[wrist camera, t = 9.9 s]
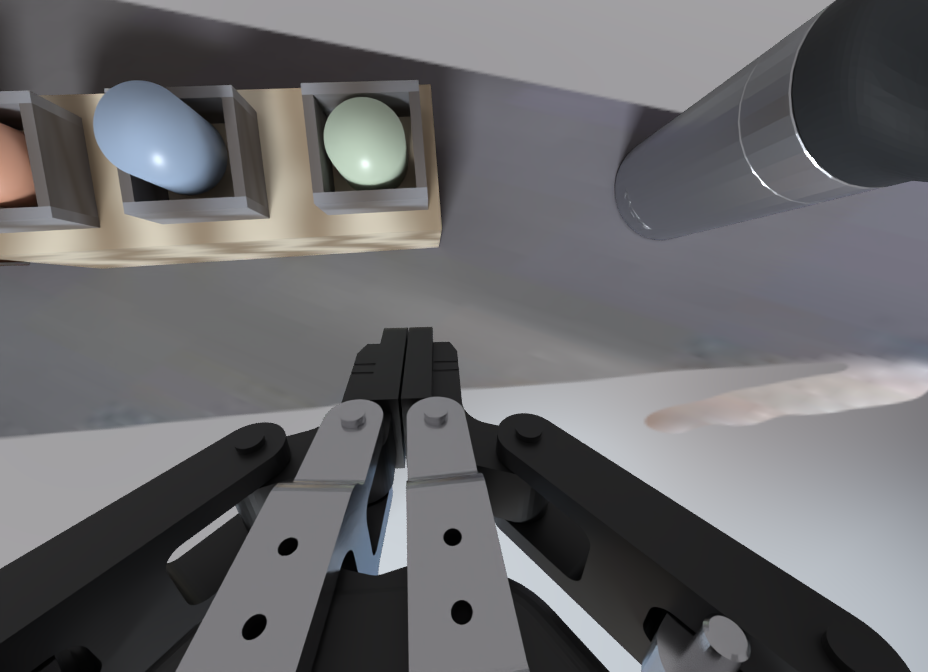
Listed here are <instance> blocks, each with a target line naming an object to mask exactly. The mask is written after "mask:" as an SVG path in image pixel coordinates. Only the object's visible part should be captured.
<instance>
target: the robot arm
mask: <svg viewBox="0 0 928 672" xmlns="http://www.w3.org/2000/svg"><path fill="white" fill-rule="evenodd" d="M909 181H922V182H928V0H836V1H834V2H833V3H832V4H830V5H829V6H827V7H826V8H825V9H823V10H822V11H821V12H819V13H818V14H816V15H815V16H814V17H812V18H811V19H810V20H808V21H807V22H806V23H804V24H803V25H801V26H800V27H799V28H797V29H796V30H795V31H793V32H792V33H791V34H789V35H788V36H786V37H785V38H784V39H782V40H781V41H780V42H779V43H777V44H776V45H775V46H773V47H772V48H770V49H769V50H768V51H766V52H765V53H764V54H762V55H761V56H760V57H758V58H757V59H756V60H754V61H753V62H751V63H750V64H749V65H747V66H746V67H744V68H743V69H742V70H740V71H739V72H738V73H736V74H735V75H733V76H732V77H731V78H730V79H728V80H727V81H725V82H724V83H723V84H721V85H720V86H719V87H717V88H716V89H714V90H713V91H712V92H710V93H709V94H708V95H706V96H705V97H703V98H702V99H701V100H699V101H698V102H697V103H695V104H694V105H692V106H691V107H690V108H688V109H687V110H686V111H684V112H683V113H681V114H680V115H679V116H677V117H676V118H675V119H673V120H672V121H670V122H669V123H668V124H666V125H665V126H663V127H662V128H661V129H659V130H658V131H656V132H655V133H654V134H652V135H651V136H650V137H648V138H647V139H646V140H644V141H643V142H642V143H640V144H639V145H637V146H636V147H635V148H634V149H633V150H632V151H631V152H630V153H629V154H628V155H627V156H626V157H625V159H624V161H623V162H622V164H621V166H620V168H619V171H618V173H617V177H616V183H615V198H616V203H617V207H618V209H619V212H620V214H621V216H622V218H623V219H624V221H625V222H626V223H627V225H628V226H629V227H630V228H632V229H633V230H634V231H635V232H636V233H638V234H640V235H642V236H644V237H646V238H650V239H654V240H667V239H673V238H677V237H681V236H685V235H689V234H694V233H699V232H703V231H707V230H711V229H715V228H719V227H723V226H728V225H732V224H736V223H740V222H744V221H748V220H752V219H757V218H761V217H765V216H769V215H773V214H777V213H781V212H785V211H790V210H794V209H798V208H802V207H806V206H810V205H814V204H819V203H822V202H826V201H830V200H834V199H838V198H842V197H846V196H850V195H855V194H859V193H863V192H867V191H871V190H875V189H879V188H883V187H887V186H892V185H896V184H900V183H904V182H909ZM405 459H407V468H408V481H407V484H406V499H407V500H406V501H407V566H406V567H403V568H400V569H397V570H394V571H391V572H388V573H385V574H382V575H378V570H379V562H380V557H381V552H382V547H383V542H384V537H385V532H386V526H387V522H388V516H389V512H390V507H391V502H392V496H393V490H392V485H393V480H394V472H395V468H405ZM234 506H236V508H237V510H238V512H239V513H238V514H237V515H236V516H235V517H233V518H232V519H230V520H229V521H228V522H226V523H225V524H224V525H222V526H221V527H220V528H218V529H217V530H216V531H214V532H213V533H212V534H210V535H209V536H208V537H206V538H205V539H204V540H202V541H201V542H200V543H198V544H197V545H196V546H194V547H193V548H192V549H191V550H189V551H188V552H186V553H185V554H184V555H182V556H181V557H180V558H178V559H176V560H175V561H173V562H171V563H167V561H168V559H169V557H170V556H171V555H172V553H173V552H174V551H175V550H176V549H177V548H178V547H179V546H180V545H182V544H183V543H184V542H185V541H187V540H188V539H190V538H191V537H193V536H194V535H195V534H197V533H198V532H199V531H201V530H202V529H204V528H205V527H206V526H208V525H209V524H210V523H212V522H213V521H214V520H216V519H217V518H219V517H220V516H221V515H223V514H224V513H225V512H226V511H228V510H229V509H231V508H232V507H234ZM495 523H496V525H497V526H498V527H499V529H500V530H501V531H502V532H503V533H504V534H506V535H507V536H508V537H509V538H510V539H511V540H512V541H513V542H514V543H515V544H516V545H517V546H518V547H519V548H520V549H521V550H522V551H523V552H524V553H525V554H526V555H527V556H529V557H530V558H531V559H532V560H533V561H534V562H535V563H536V564H537V565H538V566H539V567H540V568H541V569H542V570H543V571H544V572H545V573H546V574H547V575H548V576H549V577H550V578H551V579H552V580H554V581H555V582H556V583H557V584H558V585H559V586H560V587H561V588H562V589H563V590H564V591H565V592H566V593H567V594H568V595H569V596H570V597H571V598H572V599H573V600H574V601H575V602H576V603H578V605H580V606H581V607H582V608H583V609H584V610H585V611H586V612H587V613H588V614H589V615H590V616H591V617H592V618H593V619H594V620H595V621H596V622H597V623H598V624H599V625H600V626H601V627H603V628H604V629H605V630H606V631H607V632H608V633H609V634H610V635H611V636H612V637H613V638H614V639H615V640H616V641H617V642H618V643H619V644H620V645H621V646H623V648H624V649H626V651H628V652H629V653H630V654H631V655H632V656H633V657H634V658H635V659H636V660H637V661H638V662H639V663H640V664H641V665H642V666H641V672H911V671H910V670H909V668H908V667H907V665H906V664H905V662H904V661H903V660H902V659H901V657H900V656H899V655H898V653H897V652H896V651H895V650H894V649H893V648H892V647H891V646H890V645H889V644H888V643H887V642H886V641H885V640H884V639H883V638H882V637H881V636H880V635H879V634H878V633H877V632H875V631H874V630H873V629H872V628H870V627H869V626H868V625H866V624H865V623H864V622H862V621H861V620H859V619H858V618H856V617H855V616H853V615H852V614H850V613H849V612H847V611H846V610H844V609H842V608H841V607H839V606H838V605H836V604H835V603H833V602H831V601H830V600H828V599H827V598H825V597H823V596H822V595H821V594H819V593H817V592H816V591H814V590H813V589H811V588H810V587H808V586H806V585H805V584H803V583H802V582H800V581H799V580H797V579H795V578H794V577H792V576H791V575H789V574H788V573H786V572H784V571H783V570H781V569H780V568H778V567H777V566H775V565H773V564H772V563H770V562H769V561H767V560H766V559H764V558H762V557H761V556H759V555H758V554H756V553H755V552H753V551H752V550H750V549H748V548H747V547H745V546H744V545H742V544H741V543H739V542H737V541H736V540H734V539H733V538H731V537H730V536H728V535H726V534H725V533H723V532H722V531H720V530H719V529H717V528H715V527H714V526H712V525H711V524H709V523H708V522H706V521H705V520H703V519H701V518H700V517H698V516H697V515H695V514H693V513H692V512H690V511H689V510H687V509H686V508H684V507H683V506H681V505H679V504H678V503H676V502H675V501H673V500H672V499H670V498H668V497H667V496H665V495H664V494H662V493H661V492H659V491H658V490H656V489H654V488H653V487H651V486H650V485H648V484H646V483H645V482H643V481H642V480H640V479H639V478H637V477H636V476H634V475H632V474H631V473H629V472H628V471H626V470H625V469H623V468H621V467H620V466H618V465H617V464H615V463H614V462H612V461H610V460H609V459H607V458H606V457H604V456H602V455H601V454H600V453H598V452H596V451H595V450H593V449H592V448H590V447H589V446H587V445H585V444H584V443H582V442H581V441H579V440H578V439H576V438H574V437H573V436H571V435H570V434H568V433H567V432H565V431H564V430H562V429H560V428H559V427H557V426H556V425H554V424H552V423H551V422H549V421H548V420H546V419H544V418H542V417H540V416H537V415H533V414H525V413H524V414H523V413H521V414H514V415H511V416H509V417H507V418H505V419H504V420H503V421H502V422H501V423H500V425H499V426H498V425H493V424H488V423H484V422H481V421H478V420H476V419H474V418H473V417H471V416H470V415H469V414H468V413H467V412H466V411H465V410H464V408H463V405H462V399H461V388H460V378H459V367H458V357H457V350H456V349H455V348H454V347H453V345H452V344H451V343H450V342H433V328H432V327H412V328H409V331H408V328H384V331H383V335H382V339H381V343H380V344H367V345H366V346H365V347H364V348H363V349H362V350H361V351H360V352H359V353H358V354H357V357H356V360H355V363H354V366H353V369H352V372H351V375H350V378H349V381H348V385H347V388H346V391H345V394H344V397H343V400H342V403H341V404H339V405H337V406H335V407H333V408H332V409H331V410H330V411H329V412H328V413H327V414H326V415H325V417H324V419H323V421H322V423H321V425H320V427H317V428H315V429H312V430H309V431H305V432H301V433H298V434H294V435H290V436H286V434H285V431H284V430H283V428H282V427H280V426H279V425H277V424H274V423H256V424H251V425H248V426H245V427H242V428H240V429H238V430H236V431H234V432H232V433H231V434H229V435H227V436H226V437H224V438H222V439H221V440H219V441H217V442H215V443H214V444H212V445H210V446H208V447H207V448H205V449H204V450H202V451H200V452H198V453H197V454H195V455H193V456H191V457H190V458H188V459H186V460H185V461H183V462H181V463H180V464H178V465H176V466H175V467H173V468H171V469H170V470H168V471H166V472H164V473H163V474H161V475H159V476H157V477H156V478H154V479H152V480H151V481H149V482H147V483H146V484H144V485H142V486H140V487H139V488H137V489H135V490H134V491H132V492H130V493H129V494H127V495H125V496H123V497H122V498H120V499H118V500H117V501H115V502H113V503H112V504H110V505H108V506H106V507H105V508H103V509H101V510H100V511H98V512H96V513H95V514H93V515H91V516H89V517H88V518H86V519H84V520H83V521H81V522H79V523H78V524H76V525H74V526H72V527H71V528H69V529H67V530H66V531H64V532H62V533H61V534H59V535H57V536H55V537H54V538H52V539H50V540H49V541H47V542H45V543H44V544H42V545H40V546H38V547H37V548H35V549H33V550H32V551H30V552H28V553H26V554H25V555H23V556H22V557H20V558H18V559H16V560H15V561H13V562H11V563H9V564H8V565H6V566H4V567H3V568H1V569H0V672H609V671H608V670H607V668H606V667H605V666H604V665H603V664H602V663H601V662H600V661H599V660H598V659H597V658H596V656H595V655H594V654H593V653H592V652H591V651H590V650H589V649H588V648H587V647H586V646H585V645H584V643H583V642H582V641H581V640H580V639H579V638H578V637H577V636H576V635H575V634H574V633H573V632H572V631H571V629H570V628H569V627H568V626H567V625H566V624H565V623H564V622H563V621H562V619H561V618H560V617H559V616H558V615H557V614H556V613H555V612H554V611H553V610H552V609H551V608H550V607H549V606H548V605H547V604H546V603H545V602H544V601H543V600H542V599H541V598H540V597H538V596H537V595H536V594H535V593H534V592H532V591H531V590H529V589H528V588H526V587H525V586H523V585H522V584H520V583H518V582H516V581H514V580H512V579H510V578H507V573H506V569H505V565H504V561H503V556H502V552H501V548H500V543H499V539H498V535H497V530H496V526H495Z"/></svg>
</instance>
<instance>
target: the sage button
mask: <svg viewBox="0 0 928 672" xmlns="http://www.w3.org/2000/svg"><path fill="white" fill-rule="evenodd" d="M324 144H325V148H326V152H327V154H328V156H329V158H330V160H331V161H332V163H333V164H334V166H335V167H336V168H337V170H338V171H339V173H340V174H341V175H342V177H343V178H344V180H345V181H346V182H347V183H348V184H349V185H350V186H351V187H352V188H353V189H355V190H356V191H361V190H381V189H396V188H397V187H398V186H399V185H400V184H401V182H402V181H403V179H404V178H405V175H406V173H407V169H408V154H407V147H406V141H405V134H404V130H403V126H402V124H401V122H400V120H399V118H398V116H397V115H396V114H395V112H394V111H393V110H392V109H391V108H389V107H388V106H387V105H386V104H384V103H382V102H381V101H378V100H376V99H373V98H368V97H356V98H351V99H348V100H346V101H344V102H342V103H341V104H339V105H338V106H337V107H336V108H335V109H334V110H333V111H332V112H331V114H330V115H329V117H328V119H327V121H326V124H325V128H324Z"/></svg>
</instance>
